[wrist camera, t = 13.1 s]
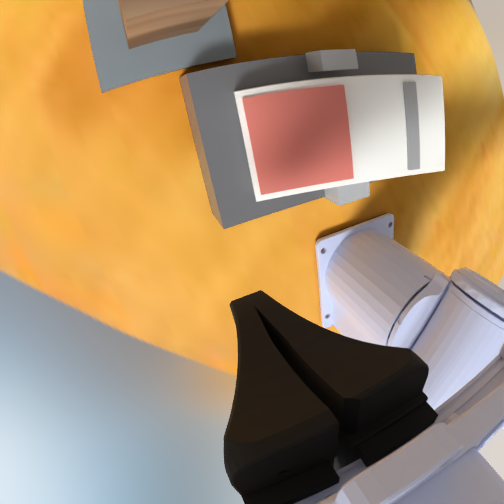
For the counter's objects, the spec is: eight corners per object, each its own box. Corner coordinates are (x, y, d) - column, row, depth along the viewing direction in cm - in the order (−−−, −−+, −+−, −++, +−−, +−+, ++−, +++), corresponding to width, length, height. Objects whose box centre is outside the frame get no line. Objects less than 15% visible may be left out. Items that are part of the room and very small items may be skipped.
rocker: (434, 165, 18) (446, 171, 17) (254, 194, 18) (256, 203, 17) (430, 74, 15) (443, 76, 14) (233, 91, 15) (234, 92, 14)
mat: (233, 58, 17) (236, 57, 16) (102, 92, 15) (102, 92, 15) (210, -49, 13) (212, -52, 12) (80, -21, 11) (79, -24, 11)
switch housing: (397, 160, 24) (436, 174, 21) (212, 214, 21) (232, 241, 17) (388, 52, 20) (430, 52, 16) (178, 76, 16) (191, 68, 13)
